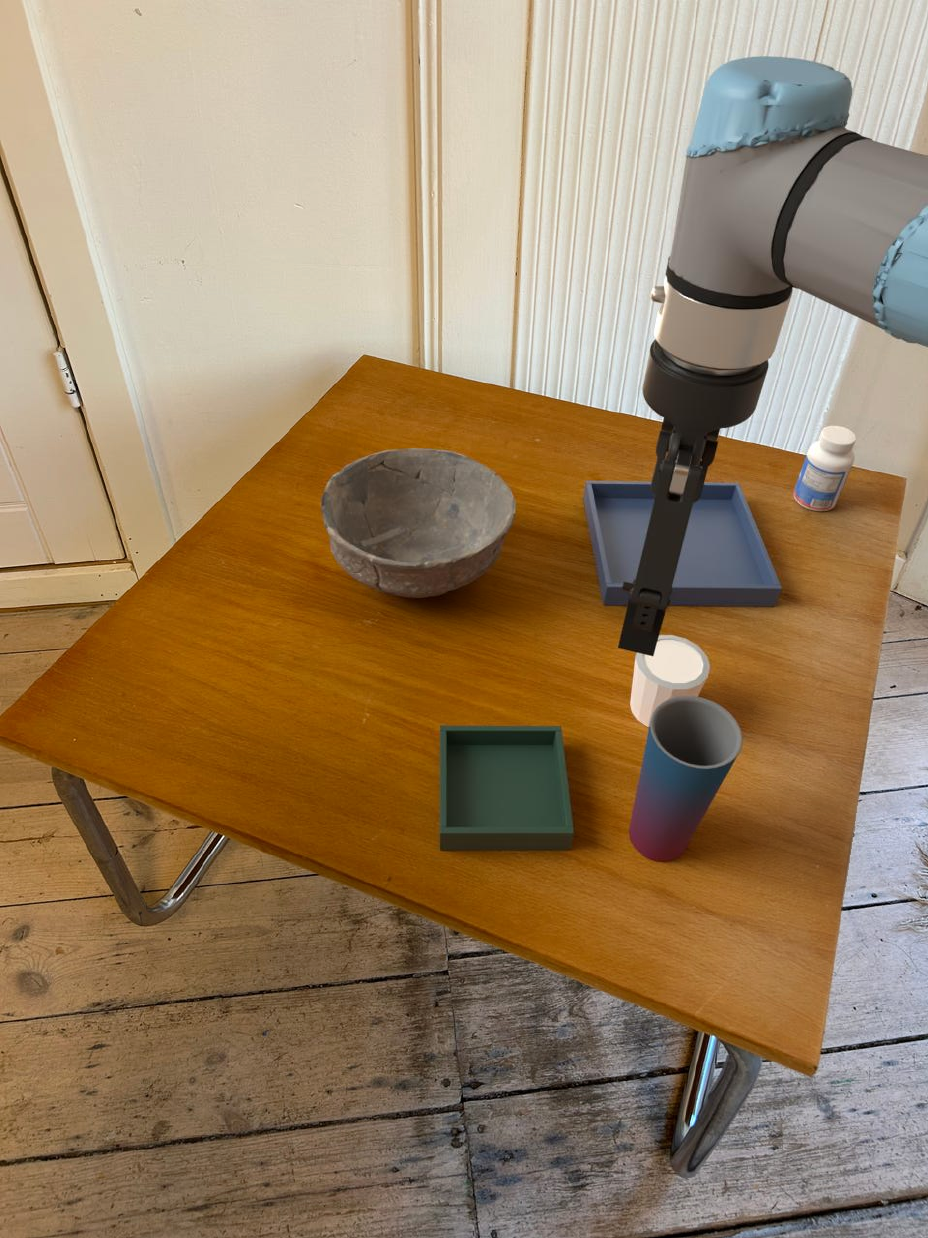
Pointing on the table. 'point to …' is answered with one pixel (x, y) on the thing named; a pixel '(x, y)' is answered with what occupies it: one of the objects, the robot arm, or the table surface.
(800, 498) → the pill bottle
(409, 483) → the bowl
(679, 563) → the far tray
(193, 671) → the table surface
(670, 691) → the white faceted candle
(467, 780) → the near tray
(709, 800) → the cup
